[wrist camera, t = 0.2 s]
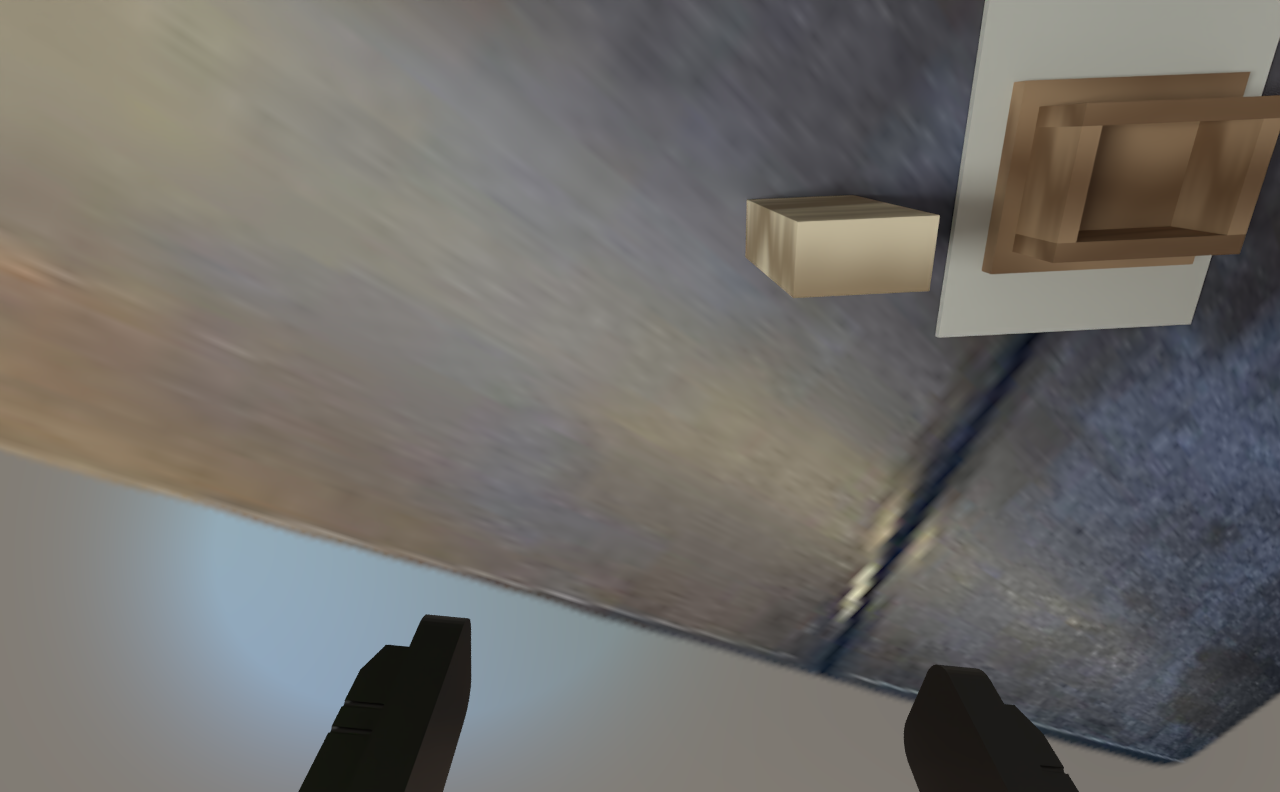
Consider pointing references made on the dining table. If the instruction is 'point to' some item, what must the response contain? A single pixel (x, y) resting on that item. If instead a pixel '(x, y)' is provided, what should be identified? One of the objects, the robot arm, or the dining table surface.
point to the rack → (1128, 171)
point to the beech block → (841, 245)
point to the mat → (1073, 49)
